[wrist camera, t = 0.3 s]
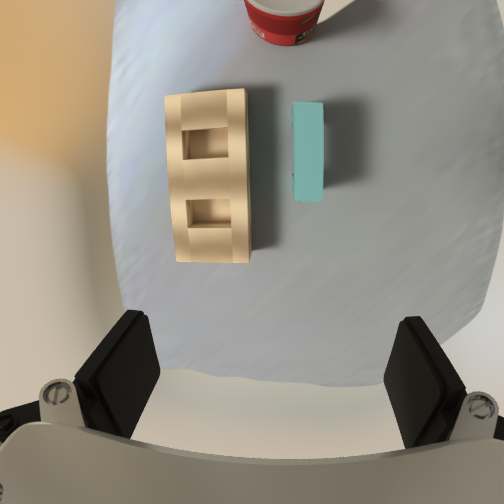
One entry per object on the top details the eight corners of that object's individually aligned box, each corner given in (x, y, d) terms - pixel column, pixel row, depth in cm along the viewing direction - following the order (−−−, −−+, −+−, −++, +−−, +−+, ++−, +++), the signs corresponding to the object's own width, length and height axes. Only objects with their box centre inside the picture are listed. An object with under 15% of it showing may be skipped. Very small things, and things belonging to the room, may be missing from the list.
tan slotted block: (176, 100, 33) (164, 96, 29) (248, 94, 32) (244, 88, 28) (185, 250, 40) (176, 261, 36) (252, 250, 39) (249, 262, 36)
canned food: (307, 55, 30) (318, 23, 19) (243, 40, 30) (229, 5, 19) (320, 7, 27) (334, -34, 17) (258, -7, 27) (251, -51, 16)
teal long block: (291, 109, 32) (294, 101, 26) (314, 109, 32) (322, 102, 26) (291, 189, 36) (294, 201, 30) (314, 190, 36) (322, 201, 29)
